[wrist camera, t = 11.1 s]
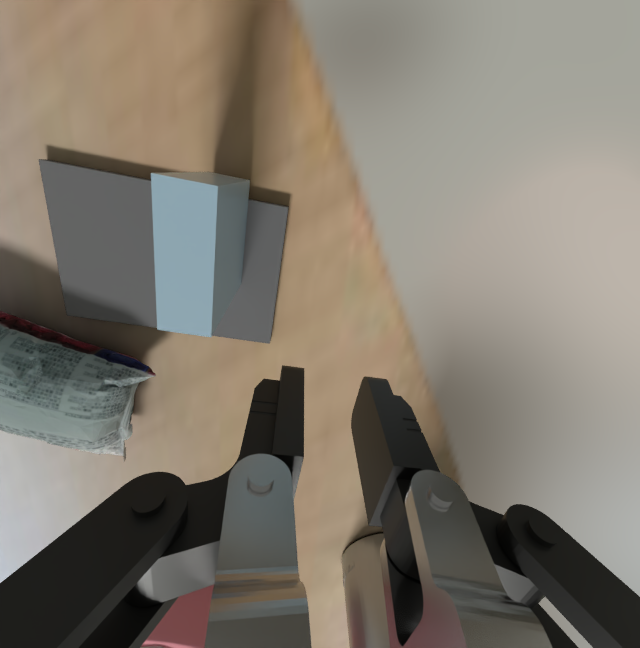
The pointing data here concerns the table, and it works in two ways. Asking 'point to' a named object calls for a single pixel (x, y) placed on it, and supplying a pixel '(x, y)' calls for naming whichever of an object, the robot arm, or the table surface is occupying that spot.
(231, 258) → the block
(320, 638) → the table surface
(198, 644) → the cake
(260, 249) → the mat
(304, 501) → the table surface
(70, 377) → the packaged food
